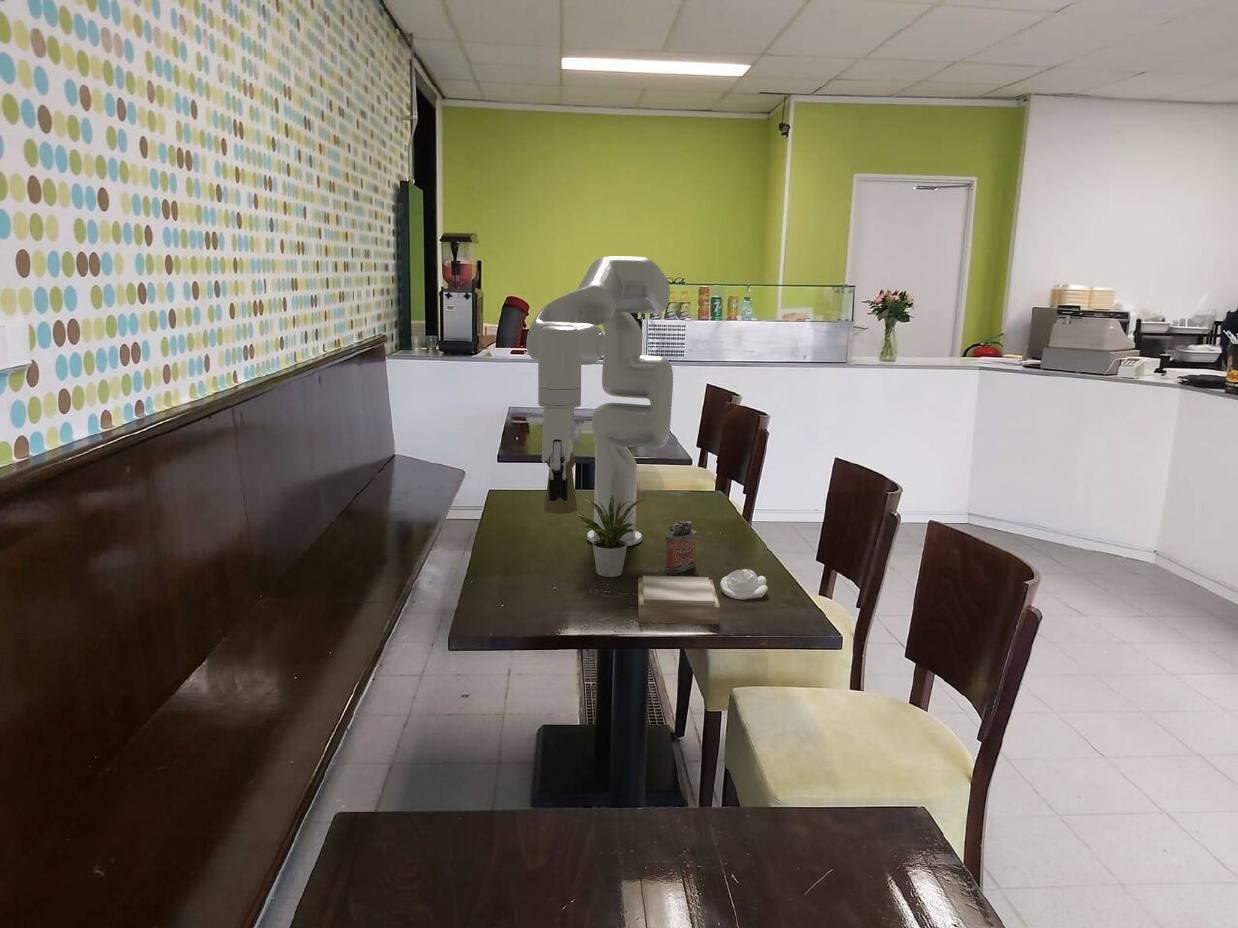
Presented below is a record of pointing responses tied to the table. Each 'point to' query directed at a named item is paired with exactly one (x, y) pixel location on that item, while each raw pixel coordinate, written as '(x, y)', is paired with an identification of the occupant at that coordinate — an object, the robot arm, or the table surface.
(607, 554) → the house plant
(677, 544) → the lighter
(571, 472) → the cork
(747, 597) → the rose
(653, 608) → the birch plinth
